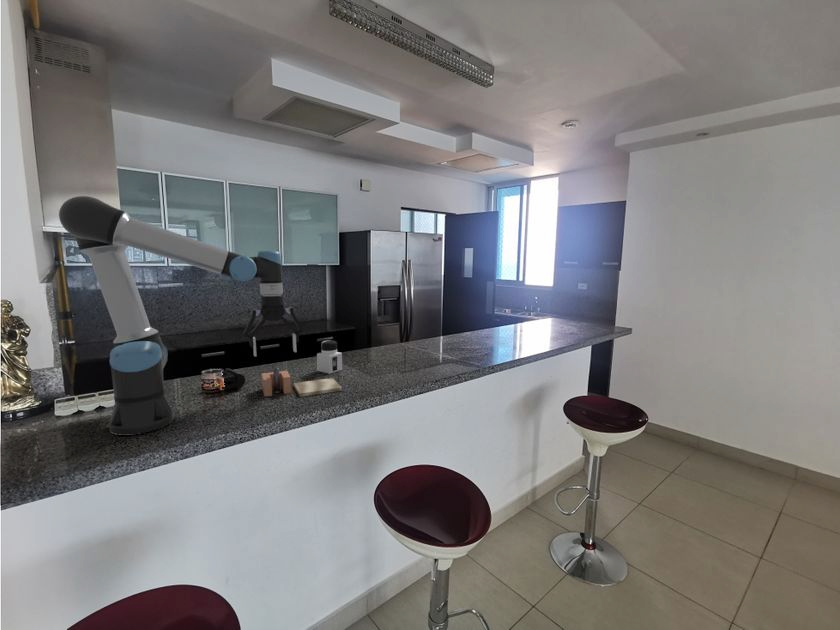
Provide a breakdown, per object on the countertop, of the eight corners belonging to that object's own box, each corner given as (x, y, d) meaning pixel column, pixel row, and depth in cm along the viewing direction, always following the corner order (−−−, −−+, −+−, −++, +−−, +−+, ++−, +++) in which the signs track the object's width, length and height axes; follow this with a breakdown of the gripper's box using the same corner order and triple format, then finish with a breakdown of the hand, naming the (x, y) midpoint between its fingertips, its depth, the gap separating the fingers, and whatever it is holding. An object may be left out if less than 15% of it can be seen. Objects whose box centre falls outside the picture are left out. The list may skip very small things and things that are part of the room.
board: (299, 396, 135) (299, 393, 135) (293, 386, 147) (293, 383, 146) (341, 390, 142) (341, 387, 142) (333, 380, 153) (333, 378, 153)
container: (342, 369, 169) (342, 340, 168) (329, 374, 163) (329, 343, 161) (330, 367, 173) (329, 338, 172) (316, 371, 167) (316, 341, 165)
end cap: (246, 389, 143) (245, 371, 142) (226, 394, 138) (225, 375, 137) (234, 383, 150) (233, 366, 149) (215, 388, 144) (214, 370, 144)
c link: (264, 396, 135) (263, 380, 134) (262, 389, 143) (261, 373, 142) (291, 392, 139) (290, 376, 138) (287, 385, 147) (287, 370, 146)
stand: (273, 393, 138) (272, 369, 137) (272, 391, 140) (271, 367, 139) (281, 392, 139) (280, 368, 138) (280, 390, 142) (279, 366, 140)
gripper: (233, 297, 128) (237, 359, 131) (309, 294, 139) (312, 351, 142) (232, 295, 135) (237, 355, 138) (306, 292, 146) (308, 347, 149)
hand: (275, 353), depth 140 cm, fingers open, 13 cm apart
